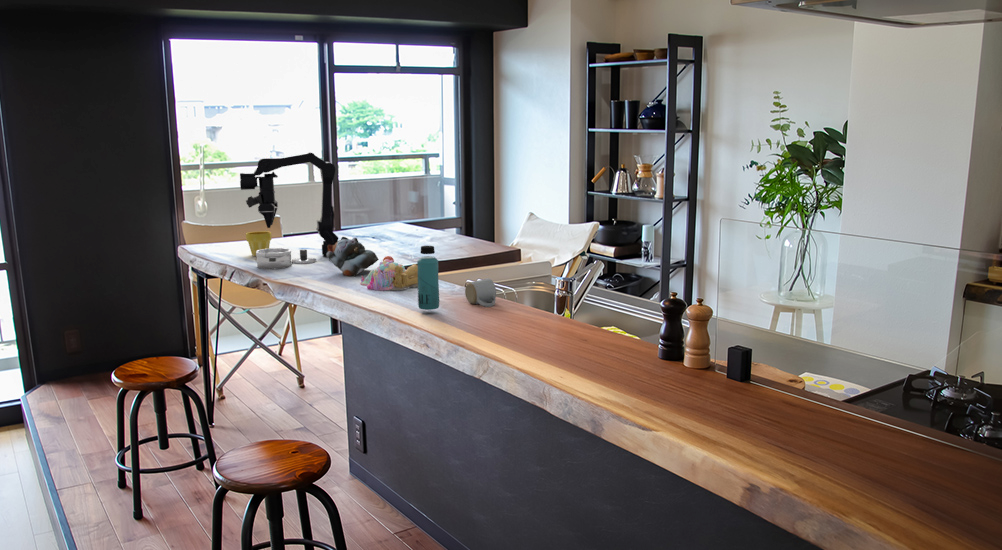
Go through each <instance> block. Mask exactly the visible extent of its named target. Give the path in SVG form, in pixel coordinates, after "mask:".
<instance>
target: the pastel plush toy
mask: <svg viewBox="0 0 1002 550" xmlns="http://www.w3.org/2000/svg"><path fill="white" fill-rule="evenodd" d="M405 269H406V268H405V266H404V265H403V264H400V263H399V262H395V260H394V258H393V256H391V255H387V256H384V257H383V259H382V261H381V262H379V265H378V266H377V267H376V269H372V270H370V271H369V273H368V274H367V275H366V277H364V276H363V275H361V279H360V282H359V284H360V285H361V286H365V287H366V286H367V287H366V288H367V290H374V291H380V292H381V291H383V292H385V291H400V290H401V291H402V290H406V289H409V288H418V282H417V281H418V280H417V279H418V278H417V277H418V274H417V273H418V263H417V264H416V263H412V265H410V266H408V267H407V269H406V270H405Z"/></svg>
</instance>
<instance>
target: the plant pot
mask: <svg viewBox="0 0 1002 550" xmlns="http://www.w3.org/2000/svg"><path fill="white" fill-rule="evenodd" d="M245 238H246V239H245V240H246V242H248V246H249V248H250V252H251V255H252V256H253V257H257V256H256V251H257V250H262V249H268V248H270V244H271V240H272V232H271V231H263V230H262V231H250V232H246V233H245Z"/></svg>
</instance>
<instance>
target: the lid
mask: <svg viewBox="0 0 1002 550" xmlns="http://www.w3.org/2000/svg"><path fill="white" fill-rule="evenodd" d="M316 262H317V258H315V257H308V250H307V249H304V248H303V249H299V257H297V258H293V259H292V258H291V264H296V265H305V264H306V265H307V264H308V265H309V264H313V263H316Z"/></svg>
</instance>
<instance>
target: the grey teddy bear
mask: <svg viewBox="0 0 1002 550" xmlns="http://www.w3.org/2000/svg"><path fill="white" fill-rule="evenodd" d="M327 247H328V252H327V254H326V255H327V259H328V260H329V262H331V263H332V265H334V266H335V267H336V268H338V269H339V270H340V271H341V272H342V274H343V275H344V276H346V277H356V276H357V275H359V274H361V273H362V272H364V271H365V270H366V269H368V268H370V267H371V266H373V265H374V264H376V263H377V262H378V261H379V258H378V256H377V254H376V253H375V252H374V251H372V250H370V249H366V247H365V246H364V245H363V244H362V242H359V240H358V238H357V237H353V238H350V239H349V238H348V237H346V236H342V237H341V239H338V242H336V243H335V245H328V246H327Z"/></svg>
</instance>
